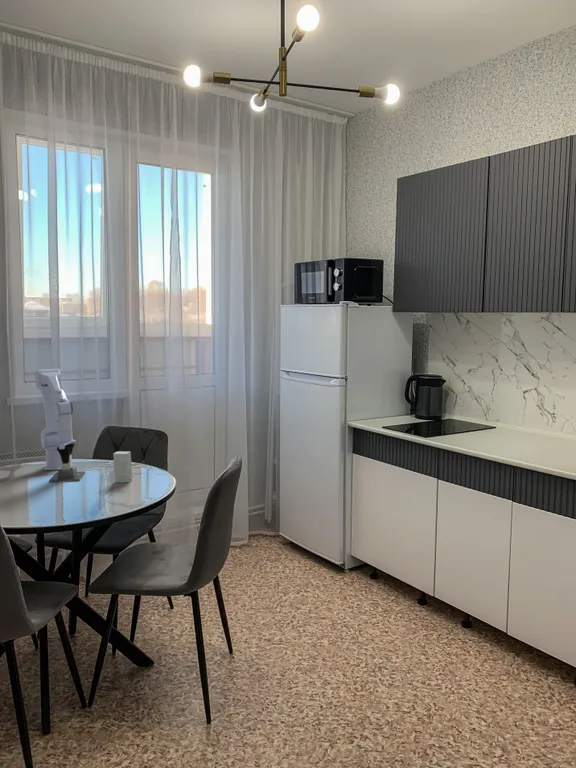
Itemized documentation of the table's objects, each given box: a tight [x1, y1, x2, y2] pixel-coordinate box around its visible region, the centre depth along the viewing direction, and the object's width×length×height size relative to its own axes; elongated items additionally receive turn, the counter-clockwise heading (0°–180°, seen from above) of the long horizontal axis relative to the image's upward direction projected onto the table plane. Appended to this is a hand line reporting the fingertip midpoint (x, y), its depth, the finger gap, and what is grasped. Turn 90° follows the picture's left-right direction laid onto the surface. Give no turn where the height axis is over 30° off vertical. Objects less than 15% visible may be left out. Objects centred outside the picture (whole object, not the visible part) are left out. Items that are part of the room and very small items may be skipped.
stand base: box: [48, 466, 86, 483], centre depth 257 cm, size 12×12×4 cm
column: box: [61, 453, 73, 471], centre depth 257 cm, size 4×4×7 cm
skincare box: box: [112, 451, 133, 483], centre depth 251 cm, size 6×4×12 cm
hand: (66, 462), depth 257 cm, fingers closed on column, 3 cm apart
